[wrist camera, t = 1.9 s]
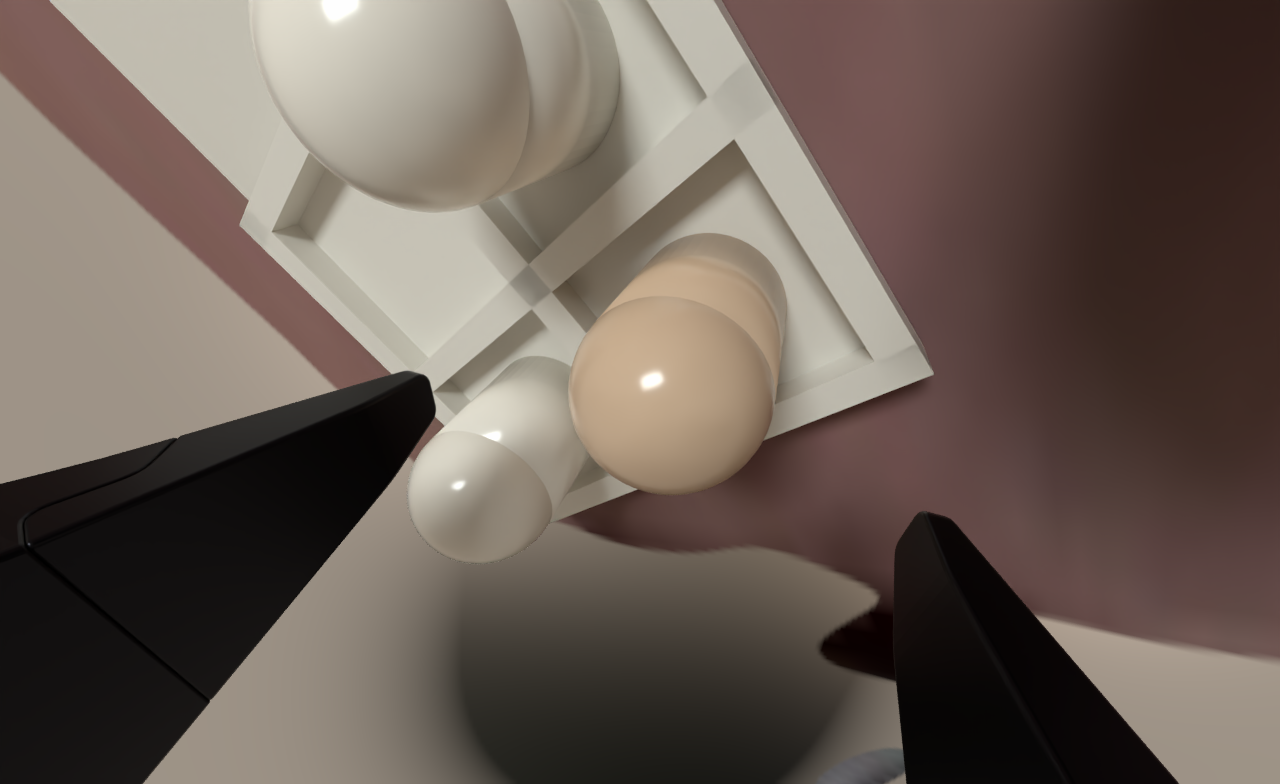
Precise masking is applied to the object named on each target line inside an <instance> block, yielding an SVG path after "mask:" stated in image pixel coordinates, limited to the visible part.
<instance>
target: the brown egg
mask: <svg viewBox="0 0 1280 784" xmlns="http://www.w3.org/2000/svg"><path fill="white" fill-rule="evenodd" d="M786 316H787V299H786V293H785V289H784V286H783V283H782V280H781V278H780V276H779V274H778V272H777V271H776V269H775V268H774V266H773V265H772V263H771V262H770V261H769V260H768V259H767V258H766V257H765V256H764V255H763V254H762V253H761V252H760V251H759V250H757V249H756V248H754V247H753V246H751V245H750V244H748V243H746V242H744V241H742V240H740V239H738V238H735V237H732V236H728V235H723V234H718V233H699V234H693V235H688V236H685V237H682V238H679V239H677V240H675V241H673V242H671V243H669V244H668V245H666V246H665V247H663V248H662V249H661V250H660V251H659V252H657V253H656V254H655V255H654V256H653V257H652V259H651V260H650V261H649V262H648V263H647V264H646V265H645V266H644V268H643V269H642V270H641V271H640V272H639V273H638V274H637V275H636V277H635V278H634V279H633V280H632V281H631V282H630V283H629V284H628V286H627V287H626V288H625V289H624V290H623V291H622V292H621V293H620V295H619V296H618V297H617V298H616V299H615V300H614V301H613V302H612V304H611V305H610V306H609V307H608V308H607V309H606V310H605V311H604V313H603V314H602V315H601V316H600V317H599V318H598V319H597V320H596V322H595V323H594V324H593V325H592V327H591V328H590V329H589V331H588V332H587V333H586V335H585V336H584V338H583V339H582V341H581V343H580V345H579V347H578V349H577V352H576V354H575V357H574V360H573V363H572V366H571V371H570V377H569V383H568V397H569V407H570V413H571V417H572V420H573V424H574V427H575V430H576V432H577V434H578V437H579V438H580V440H581V442H582V444H583V445H584V447H585V449H586V450H587V452H588V453H589V454H590V456H591V457H592V458H593V459H594V461H595V462H596V463H597V464H598V465H599V466H600V467H601V468H603V469H604V470H605V471H606V472H607V473H609V474H610V475H611V476H613V477H614V478H616V479H617V480H619V481H621V482H622V483H624V484H626V485H628V486H631V487H633V488H636V489H639V490H642V491H645V492H649V493H654V494H661V495H683V494H690V493H695V492H700V491H703V490H706V489H709V488H711V487H713V486H715V485H717V484H720V483H722V482H724V481H725V480H727V479H728V478H730V477H731V476H733V475H734V474H735V473H737V472H738V471H739V470H740V469H741V468H742V467H744V466H745V465H746V464H747V463H748V461H749V460H750V459H751V458H752V456H753V455H754V454H755V453H756V451H757V450H758V449H759V447H760V445H761V444H762V442H763V440H764V438H765V436H766V434H767V432H768V429H769V427H770V424H771V421H772V417H773V412H774V406H775V400H776V393H777V385H778V377H779V370H780V362H781V354H782V347H783V339H784V331H785V324H786Z"/></svg>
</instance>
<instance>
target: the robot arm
mask: <svg viewBox="0 0 1280 784" xmlns="http://www.w3.org/2000/svg"><path fill="white" fill-rule="evenodd" d="M435 414H436V404H435V400H434V396H433V392H432V388H431V383H430V380H429V379H428V377H427V376H425V375H424V374H420V373H417V372H413V371H401V372H398V373H395V374H391V375H388V376H384V377H381V378H377V379H374V380H371V381H367V382H364V383H360V384H357V385H353V386H350V387H347V388H343V389H340V390H336V391H333V392H330V393H326V394H323V395H319V396H316V397H312V398H309V399H306V400H302V401H299V402H295V403H292V404H289V405H285V406H282V407H278V408H275V409H272V410H268V411H264V412H261V413H258V414H254V415H251V416H247V417H244V418H240V419H237V420H233V421H230V422H227V423H224V424H220V425H216V426H213V427H209V428H206V429H203V430H199V431H196V432H192V433H189V434H185V435H182V436H180V437H179V438H178V439H177V438H172V439H168V440H164V441H161V442H158V443H154V444H151V445H148V446H144V447H140V448H137V449H133V450H130V451H126V452H122V453H119V454H115V455H112V456H108V457H105V458H102V459H97V460H94V461H90V462H86V463H82V464H78V465H74V466H70V467H66V468H62V469H59V470H55V471H51V472H47V473H43V474H38V475H35V476H31V477H27V478H23V479H18V480H15V481H10V482H6V483H3V484H0V784H143V783H144V782H145V780H146V779H147V778H148V777H149V776H150V774H151V773H152V772H153V771H154V769H155V768H156V767H157V766H158V765H159V763H160V762H161V761H162V760H163V759H164V757H165V756H166V755H167V754H168V753H169V751H170V750H171V749H172V748H173V746H174V745H175V744H176V743H177V741H178V740H179V739H180V738H181V737H182V735H183V734H184V733H185V732H186V731H187V729H188V728H189V727H190V726H191V725H192V723H193V722H194V721H195V720H196V719H197V717H198V716H199V715H200V714H201V712H202V711H203V710H204V709H205V708H206V706H207V705H208V704H209V703H210V700H211V699H212V698H213V697H214V696H215V695H216V694H217V693H218V691H219V690H220V689H221V688H222V686H223V685H224V684H225V683H226V682H227V680H228V679H229V678H230V677H231V676H232V674H233V673H234V672H235V671H236V669H237V668H238V667H239V666H240V665H241V663H242V662H243V661H244V660H245V659H246V657H247V656H248V655H249V654H250V653H251V651H252V650H253V649H254V647H256V645H257V644H258V643H259V642H260V641H261V639H262V638H263V637H264V636H265V634H266V633H267V632H268V631H269V630H270V628H271V627H272V626H273V625H274V624H275V622H276V621H277V620H278V619H279V617H280V616H281V615H282V614H283V613H284V611H285V610H286V609H287V608H288V607H289V605H290V604H291V603H292V602H293V600H294V599H295V598H296V597H297V596H298V594H299V593H300V592H301V591H302V590H303V588H304V587H305V586H306V585H307V584H308V582H309V581H310V580H311V579H312V577H313V576H314V575H315V574H316V573H317V571H318V570H319V569H320V568H321V567H322V565H323V564H324V563H325V562H326V560H327V559H328V558H329V557H330V555H331V554H332V553H333V552H334V551H335V550H336V548H337V547H338V546H339V545H340V544H341V542H342V541H343V540H344V539H345V538H346V536H347V535H348V534H349V532H350V531H351V530H352V529H353V528H354V527H355V525H356V524H357V523H358V522H359V521H360V519H361V518H362V517H363V516H364V515H365V513H366V512H367V511H368V509H369V508H370V507H371V506H372V505H373V504H374V502H375V501H376V500H377V499H378V498H379V496H380V495H381V494H382V493H383V491H384V490H385V489H386V488H387V486H388V485H389V484H390V483H391V481H392V480H393V479H394V477H395V476H396V474H397V473H398V472H399V470H400V469H401V467H402V466H403V464H404V463H405V461H406V460H407V458H408V457H409V455H410V454H411V452H412V451H413V449H414V448H415V446H416V445H417V443H418V442H419V440H420V439H421V437H422V436H423V434H424V433H425V431H426V430H427V428H428V427H429V425H430V424H431V422H432V421H433V419H434V417H435ZM893 651H894V665H895V675H896V685H897V694H898V704H899V714H900V723H901V733H902V744H903V754H904V764H905V774H906V783H907V784H1179V783H1178V782H1177V781H1176V779H1175V778H1174V777H1173V776H1172V775H1171V774H1170V772H1169V771H1168V770H1167V769H1166V768H1165V767H1164V765H1163V764H1162V763H1161V762H1160V761H1159V760H1158V758H1157V757H1156V756H1155V755H1154V754H1153V753H1152V751H1151V750H1150V749H1149V748H1148V747H1147V746H1146V745H1145V743H1144V742H1143V741H1142V740H1141V739H1140V738H1139V736H1138V735H1137V734H1136V733H1135V732H1134V731H1133V729H1132V728H1131V727H1130V726H1129V725H1128V724H1127V722H1126V721H1125V720H1124V719H1123V718H1122V717H1121V715H1120V714H1119V713H1118V712H1117V711H1116V710H1115V709H1114V707H1113V706H1112V705H1111V704H1110V703H1109V701H1108V700H1107V699H1106V698H1105V697H1104V696H1103V695H1102V693H1101V692H1100V691H1099V690H1098V689H1097V688H1096V686H1095V685H1094V684H1093V683H1092V682H1091V681H1090V679H1089V678H1088V677H1087V676H1086V675H1085V674H1084V672H1083V671H1082V670H1081V669H1080V668H1079V667H1078V665H1077V664H1076V663H1075V662H1074V661H1073V660H1072V659H1071V657H1070V656H1069V655H1068V654H1067V653H1066V652H1065V650H1064V649H1063V648H1062V647H1061V646H1060V645H1059V643H1058V642H1057V641H1056V640H1055V639H1054V638H1053V636H1052V635H1051V634H1050V633H1049V632H1048V631H1047V629H1046V628H1045V627H1044V626H1043V625H1042V624H1041V623H1040V621H1039V620H1038V619H1037V618H1036V617H1035V615H1034V614H1033V613H1032V612H1031V611H1030V610H1029V609H1028V607H1027V606H1026V605H1025V604H1024V603H1023V602H1022V600H1021V599H1020V598H1019V597H1018V596H1017V595H1016V593H1015V592H1014V591H1013V590H1012V589H1011V588H1010V586H1009V585H1008V584H1007V583H1006V582H1005V581H1004V579H1003V578H1002V577H1001V576H1000V575H999V574H998V572H997V571H996V570H995V569H994V568H993V567H992V565H991V564H990V563H989V562H988V561H987V560H986V559H985V557H984V556H983V555H982V554H981V553H980V552H979V550H978V549H977V548H976V547H975V546H974V545H973V543H972V542H971V541H970V540H969V539H968V538H967V536H966V535H965V534H964V533H963V532H962V531H961V529H960V528H959V527H958V526H957V525H956V524H955V523H954V522H953V521H952V520H951V519H950V518H948V517H945V516H941V515H938V514H934V513H930V512H927V511H922V512H919V513H918V514H917V515H916V516H915V517H914V519H913V520H912V522H911V523H910V525H909V526H908V528H907V529H906V531H905V532H904V534H903V535H902V537H901V538H900V539H899V541H898V543H897V546H896V549H895V562H894V610H893Z"/></svg>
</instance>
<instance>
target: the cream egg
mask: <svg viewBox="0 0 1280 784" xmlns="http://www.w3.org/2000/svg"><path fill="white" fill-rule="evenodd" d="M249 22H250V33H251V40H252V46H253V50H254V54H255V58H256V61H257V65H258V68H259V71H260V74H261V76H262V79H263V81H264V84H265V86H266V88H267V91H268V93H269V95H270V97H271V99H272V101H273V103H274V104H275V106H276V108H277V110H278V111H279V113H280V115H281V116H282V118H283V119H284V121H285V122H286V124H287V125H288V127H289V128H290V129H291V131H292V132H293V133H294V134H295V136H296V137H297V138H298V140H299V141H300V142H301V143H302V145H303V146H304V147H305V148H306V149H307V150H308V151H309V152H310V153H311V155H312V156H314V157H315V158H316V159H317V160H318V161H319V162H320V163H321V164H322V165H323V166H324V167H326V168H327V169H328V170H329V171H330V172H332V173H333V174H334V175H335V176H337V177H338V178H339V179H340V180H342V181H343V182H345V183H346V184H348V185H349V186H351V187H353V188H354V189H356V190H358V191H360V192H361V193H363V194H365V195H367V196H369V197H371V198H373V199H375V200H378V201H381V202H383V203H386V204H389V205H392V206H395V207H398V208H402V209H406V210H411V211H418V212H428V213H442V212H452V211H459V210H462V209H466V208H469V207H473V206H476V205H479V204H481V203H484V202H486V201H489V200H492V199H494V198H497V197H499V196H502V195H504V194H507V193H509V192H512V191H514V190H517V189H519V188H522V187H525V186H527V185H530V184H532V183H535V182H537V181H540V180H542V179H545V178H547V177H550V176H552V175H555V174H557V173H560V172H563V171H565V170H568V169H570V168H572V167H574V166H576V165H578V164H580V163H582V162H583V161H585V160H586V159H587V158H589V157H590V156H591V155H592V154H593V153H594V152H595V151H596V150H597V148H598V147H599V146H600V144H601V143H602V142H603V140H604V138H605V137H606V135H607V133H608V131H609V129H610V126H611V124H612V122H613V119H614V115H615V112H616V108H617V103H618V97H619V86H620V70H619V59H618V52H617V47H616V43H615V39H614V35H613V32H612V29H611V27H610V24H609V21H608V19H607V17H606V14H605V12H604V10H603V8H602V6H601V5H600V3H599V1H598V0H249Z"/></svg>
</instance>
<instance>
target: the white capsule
mask: <svg viewBox="0 0 1280 784" xmlns="http://www.w3.org/2000/svg"><path fill="white" fill-rule="evenodd" d="M570 371H571V366H569V365H567V364H565V363H563V362H561V361H559V360H556V359H553V358H549V357H545V356H526V357H522V358H519V359H517V360H515V361H514V362H512V363H511V364H510V365H509V366H508V367H506V368H505V369H504V370H503V371H502V372H501V373H500V374H499V375H498V376H497V377H496V378H495V379H494V380H493V381H492V382H491V383H490V384H489V385H488V386H487V387H486V388H484V389H483V390H482V391H481V392H480V393H479V394H478V395H477V396H476V397H475V398H474V399H473V400H472V401H471V402H470V403H469V404H468V405H467V406H466V407H465V408H464V409H462V410H461V411H460V412H459V413H458V414H457V415H456V416H455V417H454V418H453V419H452V420H451V421H450V422H449V423H448V424H447V425H446V426H445V427H444V428H443V429H442V430H440V431H439V432H438V433H437V434H436V435H435V436H434V437H433V438H432V439H431V440H430V441H429V442H428V444H427V445H426V446H425V447H424V448H423V449H422V451H421V452H420V454H419V455H418V457H417V459H416V460H415V463H414V465H413V467H412V469H411V473H410V477H409V480H408V487H407V504H408V510H409V514H410V517H411V520H412V522H413V524H414V526H415V528H416V530H417V532H418V533H419V535H420V536H421V537H422V539H423V540H424V541H425V542H426V543H427V544H428V545H429V546H430V547H431V548H433V549H434V550H435V551H437V552H438V553H440V554H441V555H443V556H445V557H447V558H450V559H453V560H455V561H459V562H463V563H471V564H488V563H494V562H498V561H502V560H505V559H507V558H510V557H512V556H514V555H516V554H518V553H520V552H521V551H523V550H525V549H526V548H527V547H528V546H530V545H531V544H532V543H533V542H534V541H536V540H537V538H538V537H539V536H540V535H541V534H542V533H543V531H544V530H545V529H546V527H547V526H548V524H549V523H550V521H551V519H552V518H553V516H554V514H555V513H556V511H557V509H558V508H559V506H560V504H561V502H562V501H563V499H564V497H565V496H566V494H567V492H568V491H569V489H570V487H571V486H572V484H573V482H574V481H575V479H576V477H577V476H578V474H579V472H580V470H581V469H582V467H583V465H584V464H585V462H586V460H587V459H588V457H589V455H590V454H589V453H588V452H587V450H586V449H585V447H584V445H583V444H582V442H581V440H580V438H579V437H578V434H577V432H576V430H575V427H574V424H573V420H572V417H571V413H570V407H569V397H568V383H569V377H570Z"/></svg>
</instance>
